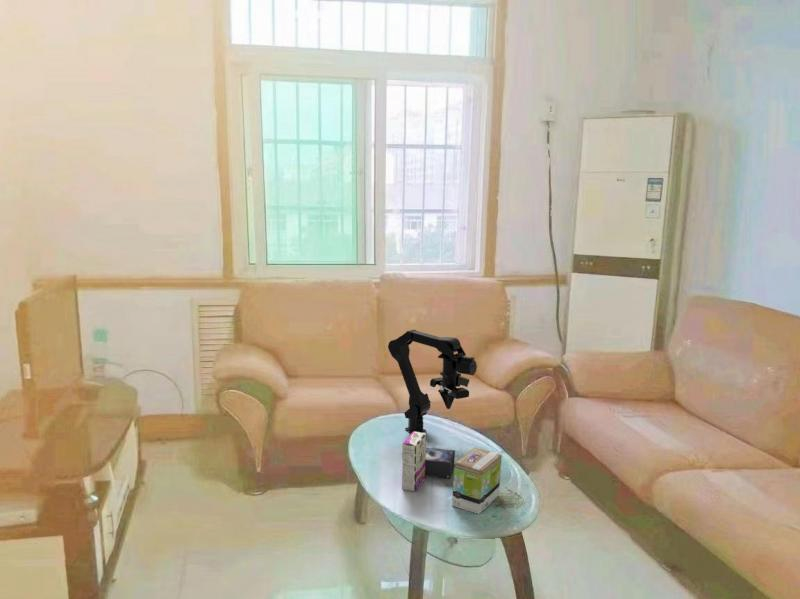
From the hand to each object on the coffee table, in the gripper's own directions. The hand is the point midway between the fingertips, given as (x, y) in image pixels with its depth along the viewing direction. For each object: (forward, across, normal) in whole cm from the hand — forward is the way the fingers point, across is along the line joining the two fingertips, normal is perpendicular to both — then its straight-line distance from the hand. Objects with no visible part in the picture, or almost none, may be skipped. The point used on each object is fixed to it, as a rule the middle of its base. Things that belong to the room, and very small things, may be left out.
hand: (448, 408), depth 243 cm
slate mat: (+13, -26, +14) cm, 32 cm away
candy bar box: (+13, -25, +31) cm, 42 cm away
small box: (+10, -17, +16) cm, 25 cm away
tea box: (+13, -44, +20) cm, 50 cm away
